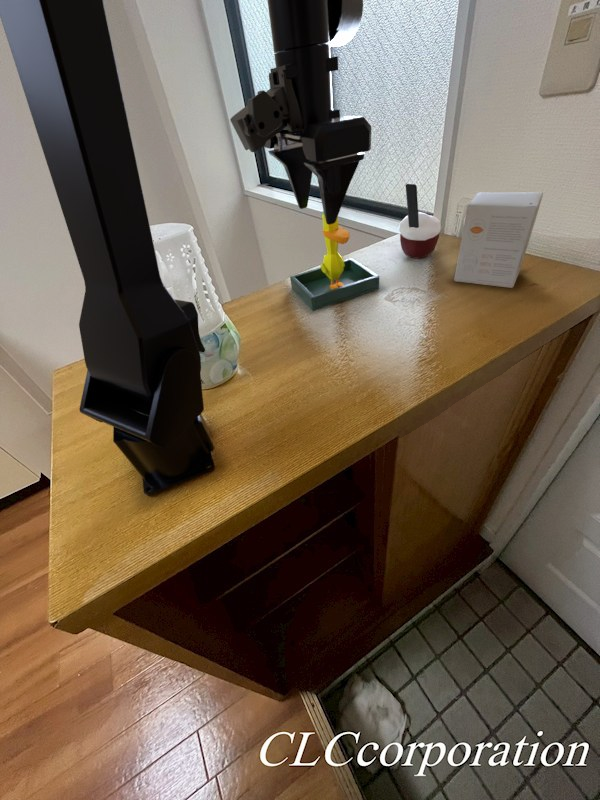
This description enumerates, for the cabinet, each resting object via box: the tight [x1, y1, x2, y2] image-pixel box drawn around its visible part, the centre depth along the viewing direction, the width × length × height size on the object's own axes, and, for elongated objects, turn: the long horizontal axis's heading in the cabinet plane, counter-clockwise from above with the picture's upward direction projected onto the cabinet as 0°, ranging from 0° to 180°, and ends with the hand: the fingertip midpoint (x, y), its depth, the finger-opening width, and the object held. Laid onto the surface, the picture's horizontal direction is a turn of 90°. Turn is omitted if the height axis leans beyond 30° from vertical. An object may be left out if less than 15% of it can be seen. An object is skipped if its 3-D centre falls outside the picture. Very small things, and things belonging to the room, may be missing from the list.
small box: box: [454, 191, 544, 289], centre depth 47 cm, size 8×6×10 cm
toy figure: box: [320, 210, 351, 290], centre depth 49 cm, size 7×4×12 cm, turn 28°
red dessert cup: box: [398, 183, 442, 259], centre depth 55 cm, size 10×6×12 cm, turn 119°
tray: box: [289, 257, 380, 312], centre depth 54 cm, size 11×9×2 cm
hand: (316, 215), depth 46 cm, fingers open, 9 cm apart
